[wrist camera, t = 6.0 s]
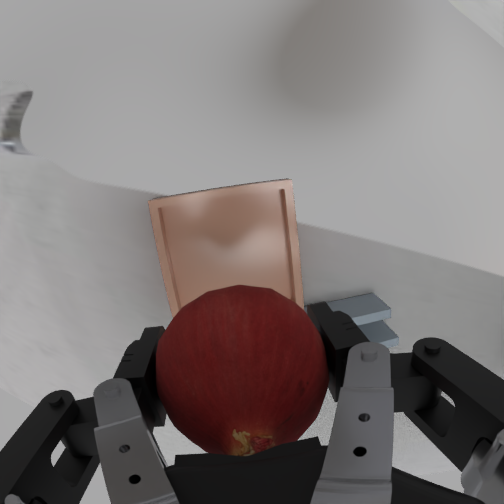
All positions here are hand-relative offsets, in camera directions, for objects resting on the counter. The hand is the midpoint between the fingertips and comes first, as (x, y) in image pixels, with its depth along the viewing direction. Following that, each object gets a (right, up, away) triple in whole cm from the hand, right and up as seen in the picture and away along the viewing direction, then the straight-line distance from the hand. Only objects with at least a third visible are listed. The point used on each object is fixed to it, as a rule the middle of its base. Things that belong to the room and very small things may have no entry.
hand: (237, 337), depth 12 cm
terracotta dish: (-1, +3, +12) cm, 13 cm away
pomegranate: (0, 0, +2) cm, 2 cm away
